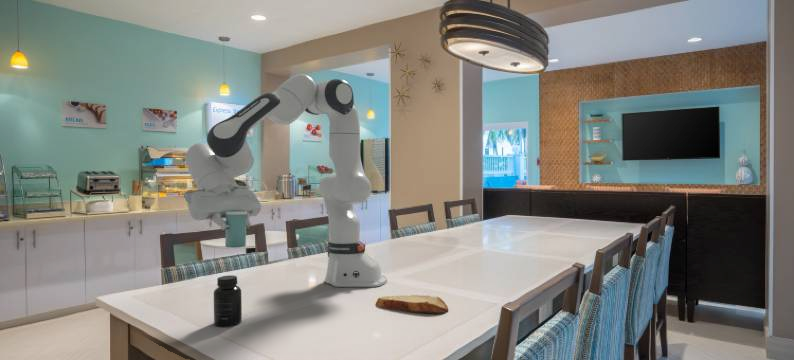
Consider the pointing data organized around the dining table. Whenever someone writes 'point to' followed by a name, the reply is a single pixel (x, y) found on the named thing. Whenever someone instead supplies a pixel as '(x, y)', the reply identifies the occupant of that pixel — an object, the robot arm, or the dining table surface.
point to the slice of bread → (413, 304)
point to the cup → (236, 229)
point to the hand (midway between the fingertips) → (237, 227)
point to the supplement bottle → (227, 302)
